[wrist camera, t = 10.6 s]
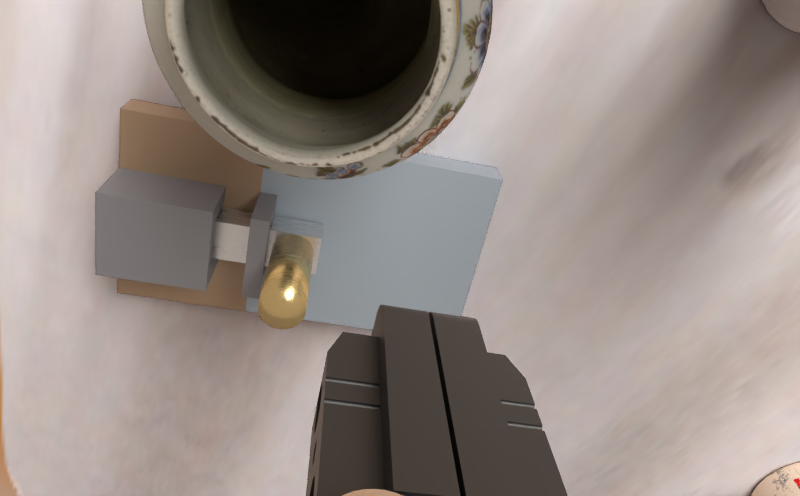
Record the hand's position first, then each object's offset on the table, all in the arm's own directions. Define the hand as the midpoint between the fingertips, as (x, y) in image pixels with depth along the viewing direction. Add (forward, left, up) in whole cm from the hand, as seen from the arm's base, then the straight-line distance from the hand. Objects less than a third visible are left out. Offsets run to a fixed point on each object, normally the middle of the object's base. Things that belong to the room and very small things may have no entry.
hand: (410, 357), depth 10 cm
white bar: (+6, +12, -27) cm, 30 cm away
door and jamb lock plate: (+2, +12, -29) cm, 31 cm away
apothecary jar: (+3, -3, -29) cm, 29 cm away
